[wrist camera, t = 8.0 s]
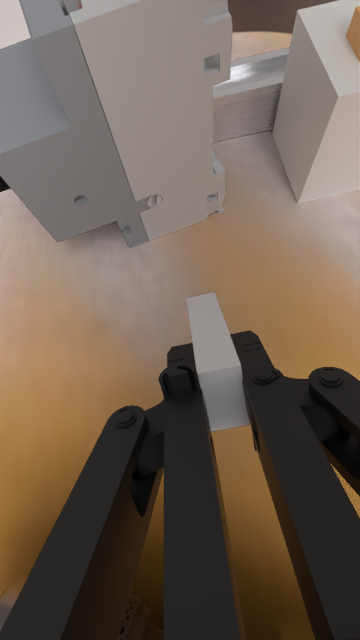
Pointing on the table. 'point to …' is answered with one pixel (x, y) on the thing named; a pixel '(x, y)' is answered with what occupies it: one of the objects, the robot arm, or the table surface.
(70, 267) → the table surface
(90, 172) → the circuit breaker
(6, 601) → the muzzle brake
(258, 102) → the din rail
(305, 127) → the mounted module
